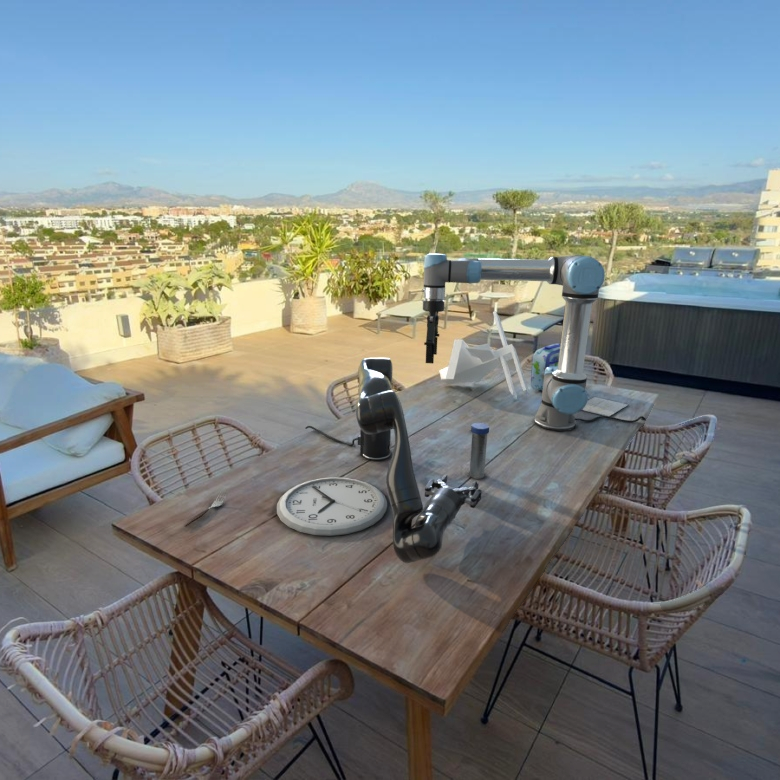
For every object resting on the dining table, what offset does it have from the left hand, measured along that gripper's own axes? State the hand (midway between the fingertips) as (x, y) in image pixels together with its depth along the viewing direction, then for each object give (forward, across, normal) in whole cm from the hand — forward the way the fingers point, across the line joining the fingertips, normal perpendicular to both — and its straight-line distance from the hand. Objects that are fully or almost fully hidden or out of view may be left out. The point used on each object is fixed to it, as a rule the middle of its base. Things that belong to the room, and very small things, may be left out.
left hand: (460, 481), depth 144 cm
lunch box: (+125, -8, +7) cm, 125 cm away
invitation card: (+106, -31, +7) cm, 111 cm away
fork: (-35, +58, +6) cm, 69 cm away
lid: (+18, 0, -10) cm, 20 cm away
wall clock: (-17, +31, +6) cm, 36 cm away
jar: (+18, 0, +6) cm, 19 cm away
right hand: (+47, +27, -21) cm, 58 cm away
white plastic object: (+102, +22, +7) cm, 104 cm away
